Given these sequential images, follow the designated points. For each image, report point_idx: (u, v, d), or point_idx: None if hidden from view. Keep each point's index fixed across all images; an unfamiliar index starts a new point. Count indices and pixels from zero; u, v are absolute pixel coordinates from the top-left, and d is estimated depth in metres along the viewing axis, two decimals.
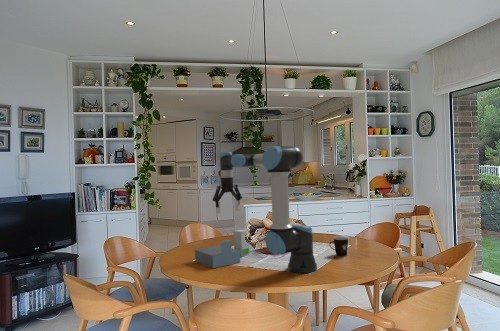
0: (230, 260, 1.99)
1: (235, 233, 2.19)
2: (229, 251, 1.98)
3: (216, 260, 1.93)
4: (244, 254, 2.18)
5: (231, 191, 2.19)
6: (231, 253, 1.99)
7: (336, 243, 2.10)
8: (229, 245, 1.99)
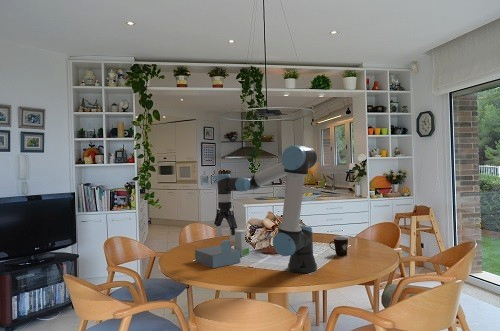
0: (230, 260, 1.99)
1: (235, 233, 2.19)
2: (229, 251, 1.98)
3: (216, 260, 1.93)
4: (244, 254, 2.18)
5: None
6: (231, 253, 1.99)
7: (336, 243, 2.10)
8: (229, 245, 1.99)
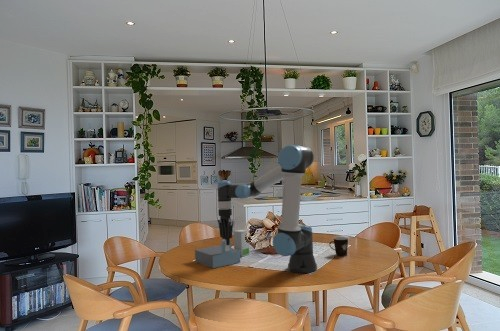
0: (230, 260, 1.99)
1: (235, 233, 2.19)
2: (229, 251, 1.98)
3: (216, 260, 1.93)
4: (244, 254, 2.18)
5: (226, 225, 1.97)
6: (231, 253, 1.99)
7: (336, 243, 2.10)
8: None
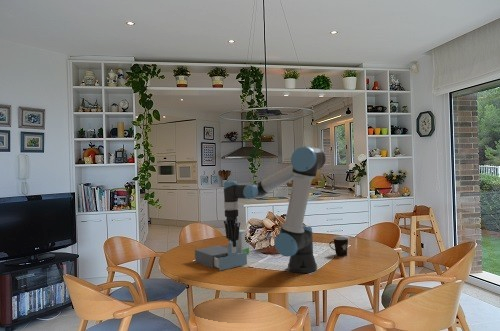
0: (237, 262, 1.94)
1: None
2: (235, 253, 1.93)
3: (222, 262, 1.88)
4: None
5: None
6: (237, 255, 1.94)
7: (336, 243, 2.10)
8: None
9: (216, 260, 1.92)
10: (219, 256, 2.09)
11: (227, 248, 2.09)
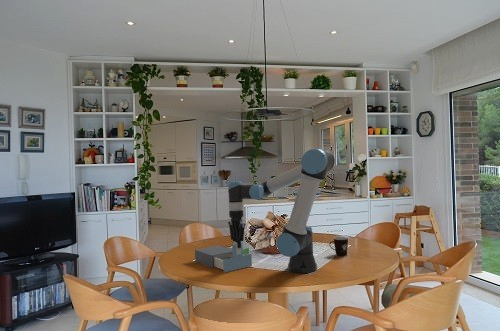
0: (241, 264, 1.90)
1: None
2: (240, 254, 1.90)
3: (227, 264, 1.85)
4: (244, 254, 2.18)
5: None
6: (242, 256, 1.91)
7: (336, 243, 2.10)
8: None
9: (220, 262, 1.88)
10: (223, 257, 2.06)
11: (227, 248, 2.09)
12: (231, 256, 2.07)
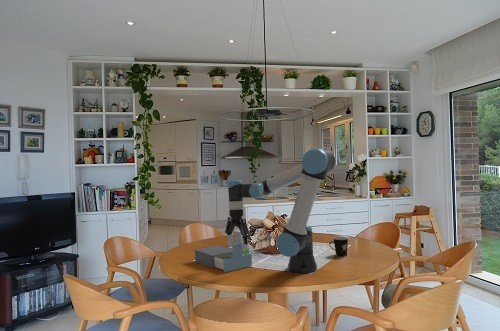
0: (241, 264, 1.90)
1: (235, 233, 2.19)
2: (240, 254, 1.90)
3: (227, 264, 1.85)
4: (244, 254, 2.18)
5: None
6: (242, 256, 1.91)
7: (336, 243, 2.10)
8: (240, 248, 1.90)
9: (220, 262, 1.88)
10: (223, 257, 2.06)
11: (227, 248, 2.09)
12: (231, 256, 2.07)
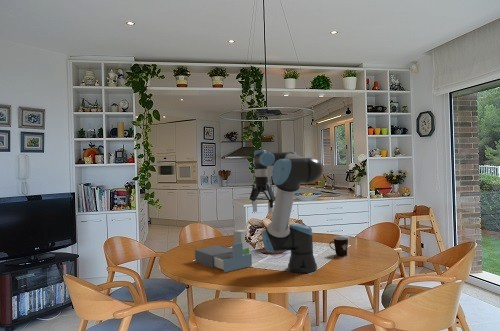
0: (241, 264, 1.90)
1: (235, 233, 2.19)
2: (240, 254, 1.90)
3: (227, 264, 1.85)
4: (244, 254, 2.18)
5: None
6: (242, 256, 1.91)
7: (336, 243, 2.10)
8: (240, 248, 1.90)
9: (220, 262, 1.88)
10: (223, 257, 2.06)
11: (227, 248, 2.09)
12: (231, 256, 2.07)
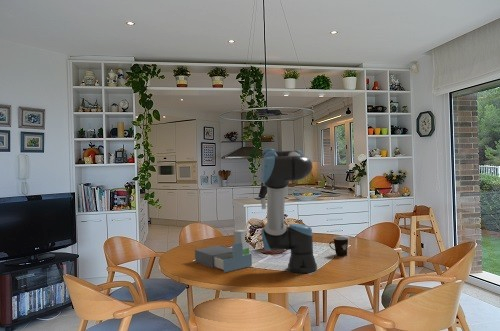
0: (241, 264, 1.90)
1: (235, 233, 2.19)
2: (240, 254, 1.90)
3: (227, 264, 1.85)
4: (244, 254, 2.18)
5: None
6: (242, 256, 1.91)
7: (336, 243, 2.10)
8: (240, 248, 1.90)
9: (220, 262, 1.88)
10: (223, 257, 2.06)
11: (227, 248, 2.09)
12: (231, 256, 2.07)
